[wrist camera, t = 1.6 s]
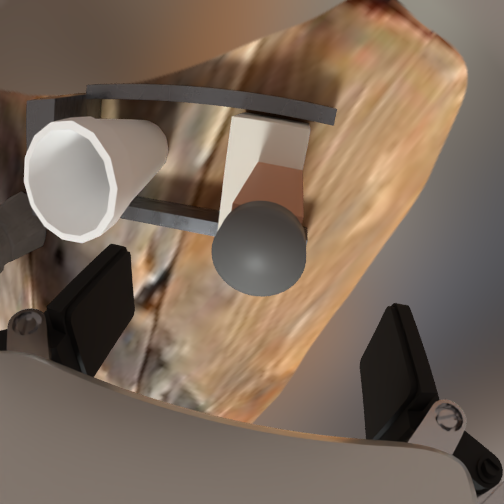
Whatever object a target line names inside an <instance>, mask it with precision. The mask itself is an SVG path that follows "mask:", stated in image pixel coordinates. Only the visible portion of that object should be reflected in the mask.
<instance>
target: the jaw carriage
mask: <svg viewBox="0 0 504 504" xmlns="http://www.w3.org/2000/svg"><path fill="white" fill-rule="evenodd" d="M310 131H311V129H310V126H309V123H304V122H299V121H294V120H288V119H283V118H277V117H272V116H266V115H259V114H253V113H246V112H244V113H241V114H238V115H235V116H232V121H231V128H230V135H229V142H228V150H227V157H226V165H225V173H224V181H223V189H222V197H221V205H220V214H219V223H218V231H217V233H216V235H215V237H214V240H213V244H212V259H213V263H214V266H215V268H216V270H217V272H218V274H219V275H220V276H221V278H222V279H223V280H224V281H225V282H226V283H227V284H228V285H230V286H231V287H232V288H234V289H236V290H238V291H240V292H242V293H245V294H248V295H252V296H271V295H276V294H279V293H281V292H284V291H286V290H287V289H289V288H290V287H292V286H293V285H294V284H295V283H296V282H297V281H298V279H299V278H300V277H301V275H302V273H303V271H304V268H305V263H306V237H305V232H304V229H303V227H302V222H303V218H304V209H303V166H304V161H305V156H306V151H307V146H308V141H309V136H310Z"/></svg>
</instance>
